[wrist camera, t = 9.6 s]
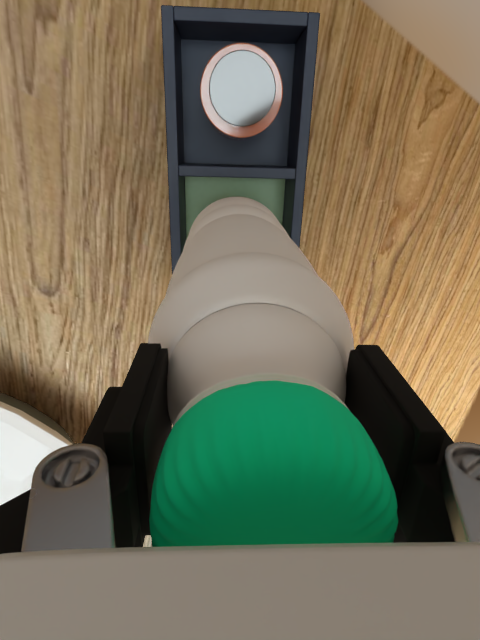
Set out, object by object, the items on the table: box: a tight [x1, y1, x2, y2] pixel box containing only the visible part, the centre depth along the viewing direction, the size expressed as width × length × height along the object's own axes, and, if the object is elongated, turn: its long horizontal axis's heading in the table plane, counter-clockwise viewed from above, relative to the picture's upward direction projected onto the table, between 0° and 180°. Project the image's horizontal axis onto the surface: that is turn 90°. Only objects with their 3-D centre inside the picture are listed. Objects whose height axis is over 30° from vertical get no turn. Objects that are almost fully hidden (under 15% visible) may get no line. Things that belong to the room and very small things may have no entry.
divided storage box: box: [161, 5, 320, 274], centre depth 33 cm, size 11×20×6 cm, turn 178°
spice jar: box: [200, 43, 283, 141], centre depth 28 cm, size 5×5×10 cm
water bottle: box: [148, 197, 398, 547], centre depth 18 cm, size 7×7×25 cm
